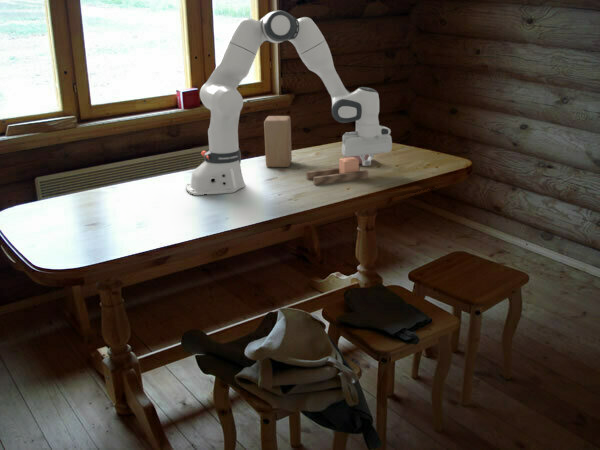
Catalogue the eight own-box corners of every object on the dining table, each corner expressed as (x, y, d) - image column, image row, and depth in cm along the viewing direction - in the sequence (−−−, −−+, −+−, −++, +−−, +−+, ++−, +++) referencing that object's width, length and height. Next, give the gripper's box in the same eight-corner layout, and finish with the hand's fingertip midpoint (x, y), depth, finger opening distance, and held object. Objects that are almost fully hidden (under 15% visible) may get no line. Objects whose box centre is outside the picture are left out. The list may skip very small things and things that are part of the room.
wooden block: (292, 161, 279) (290, 115, 272) (289, 168, 270) (288, 120, 263) (269, 161, 280) (267, 115, 273) (265, 167, 271) (263, 120, 264)
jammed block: (344, 179, 249) (344, 161, 246) (339, 176, 253) (339, 158, 251) (358, 177, 251) (358, 160, 248) (353, 174, 255) (353, 157, 253)
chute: (314, 188, 243) (314, 178, 242) (306, 181, 251) (306, 171, 250) (367, 181, 250) (367, 171, 249) (357, 174, 258) (358, 165, 257)
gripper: (345, 134, 242) (345, 170, 247) (394, 129, 248) (393, 164, 253) (338, 131, 248) (338, 166, 253) (386, 126, 254) (385, 160, 259)
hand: (366, 165), depth 253 cm, fingers closed
